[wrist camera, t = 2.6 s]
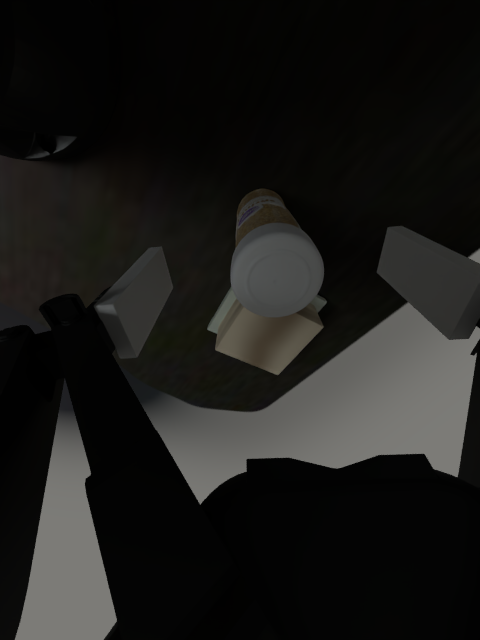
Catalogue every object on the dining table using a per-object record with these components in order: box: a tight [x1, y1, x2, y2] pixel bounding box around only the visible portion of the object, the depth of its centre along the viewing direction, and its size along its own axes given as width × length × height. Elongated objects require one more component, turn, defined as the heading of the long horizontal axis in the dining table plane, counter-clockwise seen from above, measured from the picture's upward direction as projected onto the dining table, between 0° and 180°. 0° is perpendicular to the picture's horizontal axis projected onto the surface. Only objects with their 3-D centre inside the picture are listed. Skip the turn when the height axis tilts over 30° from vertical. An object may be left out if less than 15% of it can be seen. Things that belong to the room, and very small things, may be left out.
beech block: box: [215, 298, 324, 375], centre depth 26 cm, size 8×8×4 cm
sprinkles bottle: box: [231, 189, 324, 317], centre depth 17 cm, size 5×5×13 cm
